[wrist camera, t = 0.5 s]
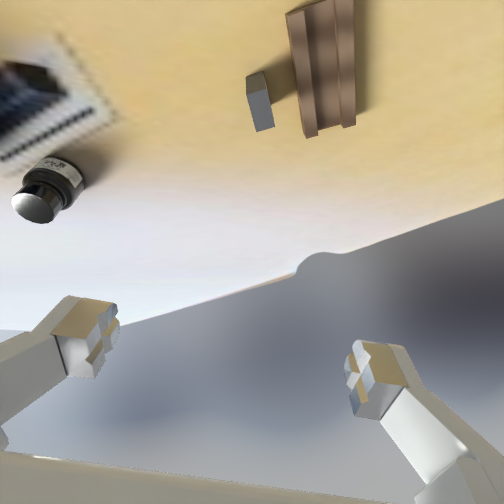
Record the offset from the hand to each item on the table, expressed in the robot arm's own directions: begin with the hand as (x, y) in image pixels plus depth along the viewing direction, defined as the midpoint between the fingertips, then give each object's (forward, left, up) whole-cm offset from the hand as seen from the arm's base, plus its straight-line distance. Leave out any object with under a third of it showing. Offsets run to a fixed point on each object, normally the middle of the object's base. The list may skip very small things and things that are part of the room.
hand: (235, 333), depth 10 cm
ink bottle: (+41, -16, -50) cm, 66 cm away
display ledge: (-6, +12, -50) cm, 52 cm away
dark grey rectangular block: (+3, +6, -50) cm, 50 cm away
